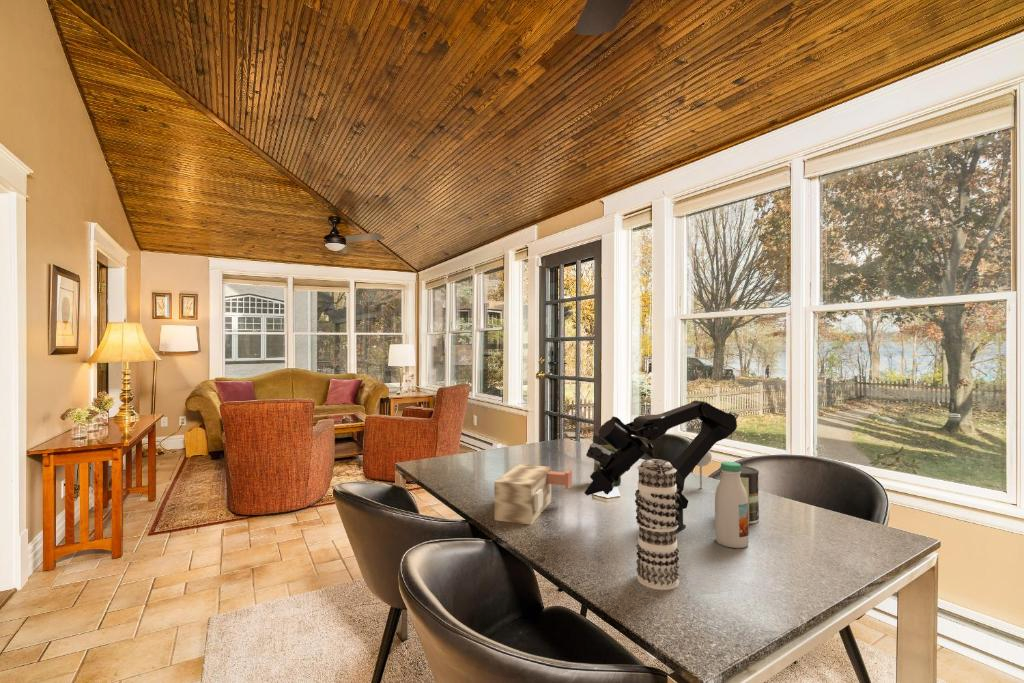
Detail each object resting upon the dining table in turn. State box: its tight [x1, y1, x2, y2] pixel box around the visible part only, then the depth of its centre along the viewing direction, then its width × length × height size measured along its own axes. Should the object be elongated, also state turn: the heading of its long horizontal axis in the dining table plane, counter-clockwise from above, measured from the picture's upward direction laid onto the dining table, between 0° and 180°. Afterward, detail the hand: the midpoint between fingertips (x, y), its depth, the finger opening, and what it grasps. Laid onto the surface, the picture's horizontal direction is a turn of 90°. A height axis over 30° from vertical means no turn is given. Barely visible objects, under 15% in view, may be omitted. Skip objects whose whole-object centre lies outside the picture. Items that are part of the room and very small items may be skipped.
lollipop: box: [696, 450, 713, 489], centre depth 167 cm, size 7×7×15 cm
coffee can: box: [718, 465, 760, 525], centre depth 138 cm, size 10×10×14 cm
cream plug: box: [533, 489, 543, 511], centre depth 137 cm, size 12×5×5 cm, turn 71°
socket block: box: [493, 463, 552, 526], centre depth 145 cm, size 11×22×11 cm, turn 161°
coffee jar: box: [592, 432, 622, 486], centre depth 173 cm, size 10×8×19 cm
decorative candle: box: [634, 458, 680, 591], centre depth 101 cm, size 9×9×25 cm
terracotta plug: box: [547, 469, 573, 490], centre depth 150 cm, size 12×5×5 cm, turn 71°
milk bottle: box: [714, 461, 750, 549], centre depth 120 cm, size 8×8×20 cm
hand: (585, 493), depth 131 cm, fingers closed
